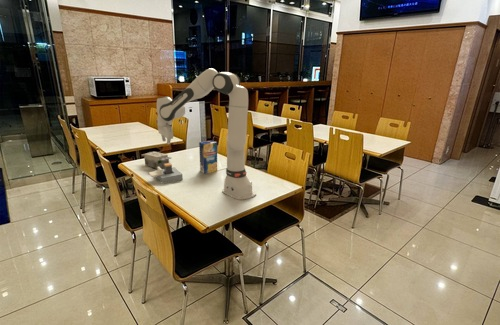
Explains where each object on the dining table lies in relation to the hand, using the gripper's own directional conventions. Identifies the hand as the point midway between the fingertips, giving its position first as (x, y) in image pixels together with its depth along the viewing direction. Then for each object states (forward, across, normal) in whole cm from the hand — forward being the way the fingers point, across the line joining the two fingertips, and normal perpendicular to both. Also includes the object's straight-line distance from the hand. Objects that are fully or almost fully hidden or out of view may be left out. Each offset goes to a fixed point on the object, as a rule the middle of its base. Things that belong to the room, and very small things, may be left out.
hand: (166, 142), depth 185 cm
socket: (+25, 0, 0) cm, 25 cm away
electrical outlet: (+26, +28, 0) cm, 38 cm away
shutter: (+21, 0, +9) cm, 23 cm away
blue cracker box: (+25, -1, -30) cm, 39 cm away
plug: (+24, 0, 0) cm, 24 cm away
